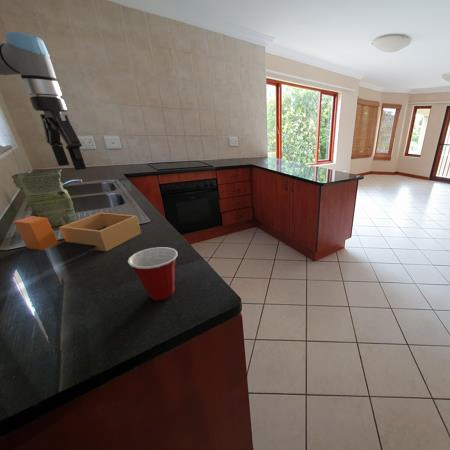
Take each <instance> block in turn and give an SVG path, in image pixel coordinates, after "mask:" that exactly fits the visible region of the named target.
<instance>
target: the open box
mask: <svg viewBox="0 0 450 450" xmlns="http://www.w3.org/2000/svg"><path fill="white" fill-rule="evenodd" d="M104 227H105V228H104ZM59 228H60V229H59V230H60V232H61V235H62V236H63V239H64V241H65V242H66V243H73V244H80V245H81V244H82V245H90V246H94V247H92V248H91V250H94V251H100V252H108V251H110V250H112V249H114V248H117V247H118V246H120V245H122V244H124V243H125V242H128V241H129V240H132V239H133V238H135V237H137V236H139V235H141V234H142V229H141V227H140V223H139V218H138V216H137V215H131V214H121V213H110V212H98V213H95V214H92V215H89V216H86V217H84V218H81V219H79V220H76V221H75V222H72V223H69V224H67V225H64V226H61V227H59ZM102 228H103V229H102ZM99 229H101V230H99Z"/></svg>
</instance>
